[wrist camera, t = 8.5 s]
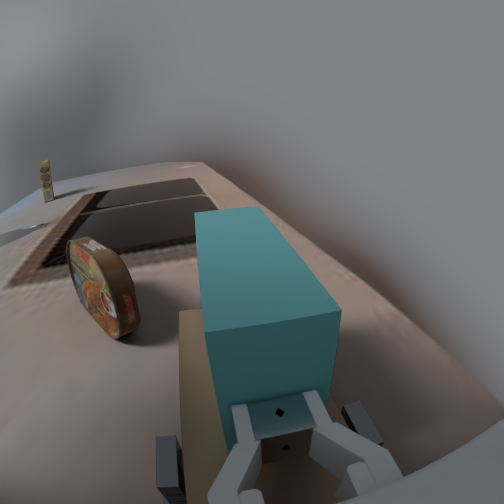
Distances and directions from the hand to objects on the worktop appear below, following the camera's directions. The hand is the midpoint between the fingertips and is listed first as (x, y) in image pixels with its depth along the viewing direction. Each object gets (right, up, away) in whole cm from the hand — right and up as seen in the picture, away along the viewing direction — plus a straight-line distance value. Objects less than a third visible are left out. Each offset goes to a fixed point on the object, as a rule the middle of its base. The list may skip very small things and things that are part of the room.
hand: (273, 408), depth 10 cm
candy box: (-77, +25, +90) cm, 121 cm away
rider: (-1, -2, +7) cm, 7 cm away
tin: (-16, -2, +21) cm, 27 cm away
